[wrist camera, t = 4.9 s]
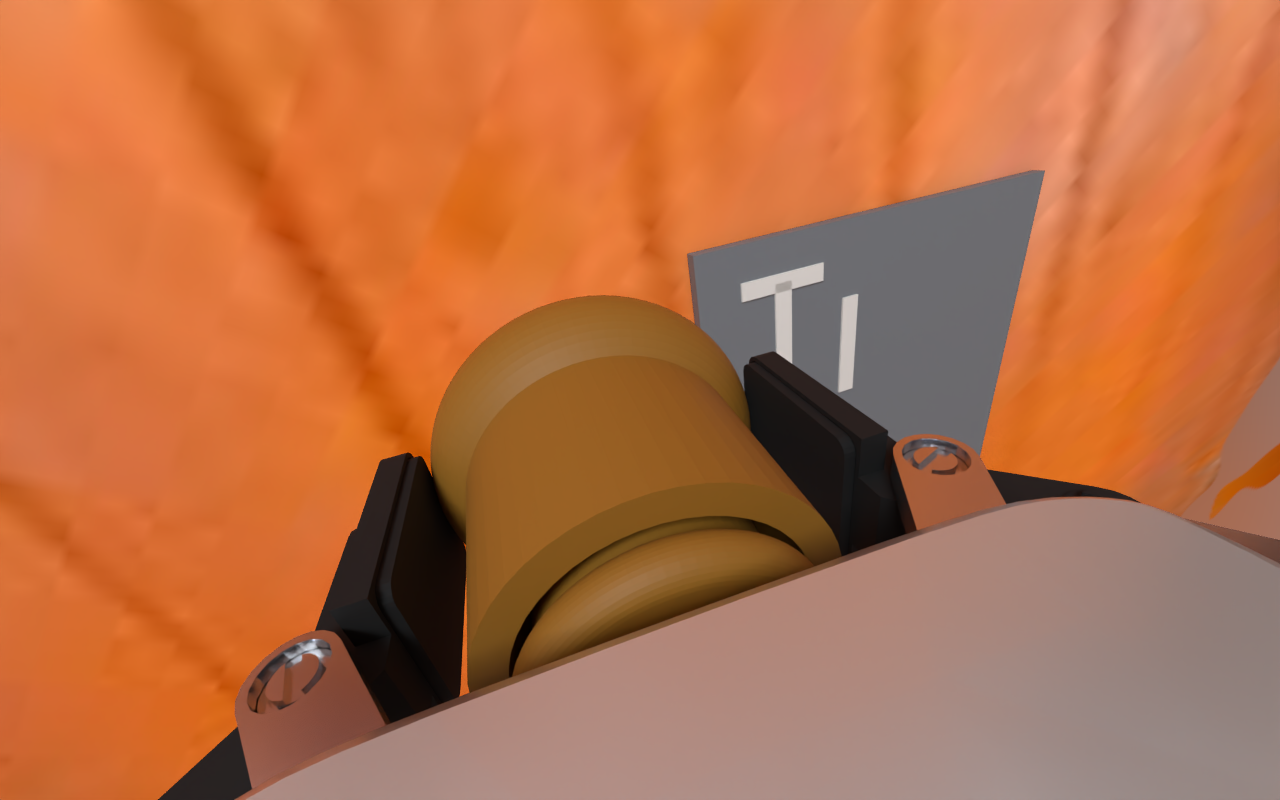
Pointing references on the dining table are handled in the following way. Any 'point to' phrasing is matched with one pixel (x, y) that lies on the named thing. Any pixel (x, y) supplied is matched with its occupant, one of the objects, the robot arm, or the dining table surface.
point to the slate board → (883, 303)
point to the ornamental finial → (606, 482)
